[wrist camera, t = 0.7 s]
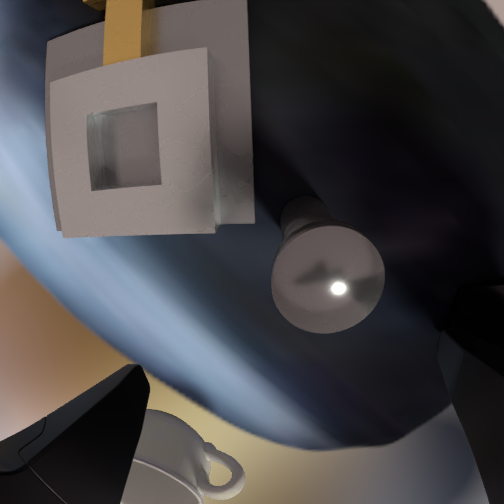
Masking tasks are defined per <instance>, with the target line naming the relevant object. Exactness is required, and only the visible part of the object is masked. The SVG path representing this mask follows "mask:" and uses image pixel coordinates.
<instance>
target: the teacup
mask: <svg viewBox="0 0 504 504" xmlns="http://www.w3.org/2000/svg"><path fill="white" fill-rule="evenodd" d="M211 460H212V461H214V462H217V463H220V464H222V465H224V466H226V467H227V468H229V469H230V470H231V472H232V478H231V480H230V481H229V482H228V483H227V484H225V485H223V486H213V485H211V484H210V482H209V474H210V466H211ZM244 483H245V473H244V471H243V468H242V467H241V465H240V464H239V463H238V462H237V461H236V460H235V459H234V458H233V457H231V456H229V455H227V454H226V453H223V452H221V451H219V450H217V449H216V448H215V447H214V445H213V444H212V443H209V442H204V440H203V439H202V437H201V436H200V435H199V434H198V433H197V432H196V431H195V430H194V429H193V428H191V427H190V426H189V425H188V424H186V422H184V421H183V420H181V419H179V418H178V417H176V416H174V415H172V414H169V413H166V412H163V411H159V410H152V409H146V413H145V419H144V424H143V428H142V432H141V436H140V439H139V442H138V445H137V449H136V452H135V455H134V458H133V462H132V465H131V468H130V472H129V475H128V479H127V482H126V485H125V489H124V492H123V496H122V499H121V503H120V504H203V500H204V496H205V495H207V496H208V497H210V498H213V499H220V500H223V499H228V498H231V497H233V496H235V495H237V494H238V493H239V492H240V491H241V489H242V488H243V486H244Z"/></svg>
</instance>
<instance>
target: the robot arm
mask: <svg viewBox="0 0 504 504" xmlns="http://www.w3.org/2000/svg"><path fill="white" fill-rule="evenodd" d="M464 292H465V294H464V295H463V293H464ZM437 358H438V362H439V365H440V368H441V371H442V374H443V377H444V380H445V383H446V386H447V389H448V393H449V396H450V399H451V401H452V404H453V406H454V409H455V411H456V413H457V416H458V418H459V420H460V423H461V425H462V427H463V430H464V433H465V435H466V438H467V440H468V443H469V445H470V448H471V451H472V453H473V456H474V458H475V461H476V464H477V467H478V470H479V472H480V475H481V479H482V481H483V485H484V488H485V491H486V494H487V497H488V500H489V504H504V283H495V284H483V285H470V286H462V287H461V288H460V289H459V290H458V293H457V297H456V301H455V305H454V309H453V313H452V316H451V320H450V323H449V327H448V329H445V330H443V331H442V332H441V334H440V339H439V345H438V351H437ZM149 393H150V385H149V382H148V380H147V377H146V375H145V373H144V371H143V368H142V367H141V365H139V364H127V365H126V366H124V367H122V368H121V369H119V370H118V371H116V372H115V373H113V374H112V375H110V376H109V377H107V378H106V379H104V380H103V381H101V382H99V383H98V384H96V385H95V386H93V387H91V388H90V389H88V390H87V391H85V392H84V393H82V394H80V395H79V396H77V397H76V398H74V399H73V400H71V401H69V402H68V403H66V404H65V405H63V406H62V407H60V408H58V409H57V410H55V411H54V412H52V413H50V414H49V415H47V417H44V418H42V419H41V420H39V421H37V422H36V423H34V424H32V425H31V426H29V427H27V428H25V429H23V430H22V431H20V432H18V433H16V434H14V435H12V436H10V437H8V438H6V439H4V440H2V441H0V504H120V503H121V499H122V496H123V492H124V489H125V485H126V482H127V479H128V475H129V472H130V468H131V465H132V462H133V458H134V455H135V452H136V449H137V445H138V442H139V439H140V436H141V432H142V428H143V424H144V419H145V413H146V408H147V403H148V398H149Z"/></svg>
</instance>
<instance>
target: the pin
mask: <svg viewBox="0 0 504 504" xmlns="http://www.w3.org/2000/svg"><path fill="white" fill-rule="evenodd" d="M280 222H281V233H282V244H281V245H280V247H279V248H278V250H277V252H276V254H275V257H274V260H273V264H272V279H271V286H272V295H273V299H274V301H275V304H276V306H277V308H278V310H279V311H280V313H281V314H282V315H283V316H284V317H285V318H286V319H287V320H288V321H289V322H290V323H292V324H293V325H295V326H297V327H298V328H300V329H303V330H305V331H309V332H314V333H334V332H338V331H342V330H345V329H348V328H350V327H352V326H354V325H356V324H357V323H359V322H360V321H362V320H363V319H364V318H365V317H366V316H367V315H368V314H370V312H371V311H372V310H373V309H374V307H375V306H376V304H377V303H378V301H379V299H380V297H381V294H382V291H383V288H384V283H385V270H384V265H383V261H382V259H381V256H380V254H379V252H378V251H377V249H376V248H375V247H374V245H373V244H372V243H371V242H370V241H369V240H368V238H367V237H366V236H365V235H364V234H363V233H362V232H361V231H359V230H358V229H356V228H355V227H353V226H351V225H349V224H347V223H344V222H340V221H337V220H336V219H335V217H334V216H333V215H332V213H331V212H330V211H329V210H328V208H327V207H326V206H325V205H324V203H323V202H322V201H320V200H319V199H317V198H315V197H312V196H299V197H296V198H294V199H292V200H290V201H289V202H288V203H287V204H286V205H285V207H284V208H283V210H282V213H281V218H280Z"/></svg>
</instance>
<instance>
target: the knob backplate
mask: <svg viewBox="0 0 504 504" xmlns="http://www.w3.org/2000/svg"><path fill="white" fill-rule="evenodd" d="M83 2H84V3H86V4H87V5H89V6H91V7H92V8H94V9H96V10H97V11H101V10H105V9H106V15H105V21H103V22H100V23H97V24H94V25H90V26H87V27H85V28H82V29H79V30H76V31H73V32H71V33H68V34H65V35H63V36H60V37H58V38H55V39H53V40H50V41H48V42H47V54H46V73H45V125H46V144H47V158H48V169H49V179H50V187H51V195H52V202H53V209H54V215H55V222H56V227H57V231H62V233H63V238H75V237H100V236H127V235H159V234H197V233H216V231H217V230H218V228H219V226H220V225H221V224H244V223H255V196H254V166H253V137H252V109H251V81H250V54H249V28H248V3H247V0H199V1H192V2H186V3H179V4H174V5H168V6H163V7H158V8H155V0H83Z"/></svg>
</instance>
